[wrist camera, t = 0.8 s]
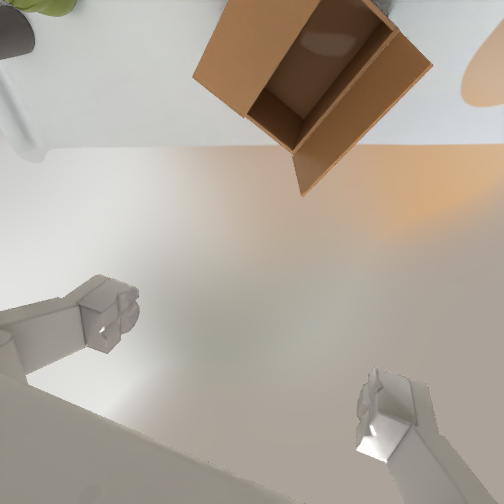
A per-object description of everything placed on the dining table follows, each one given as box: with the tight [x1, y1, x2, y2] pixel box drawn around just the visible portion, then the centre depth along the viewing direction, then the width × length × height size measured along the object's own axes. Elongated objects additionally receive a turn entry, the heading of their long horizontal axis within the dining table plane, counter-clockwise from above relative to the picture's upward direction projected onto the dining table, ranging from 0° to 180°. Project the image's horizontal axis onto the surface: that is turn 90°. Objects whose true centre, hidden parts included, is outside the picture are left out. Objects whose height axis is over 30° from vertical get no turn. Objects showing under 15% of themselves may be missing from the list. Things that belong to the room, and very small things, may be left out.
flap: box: [292, 31, 433, 197], centre depth 30 cm, size 15×7×1 cm
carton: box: [192, 0, 399, 155], centre depth 35 cm, size 15×14×12 cm
